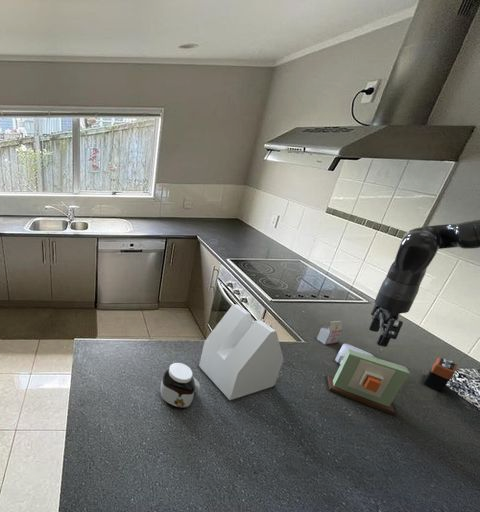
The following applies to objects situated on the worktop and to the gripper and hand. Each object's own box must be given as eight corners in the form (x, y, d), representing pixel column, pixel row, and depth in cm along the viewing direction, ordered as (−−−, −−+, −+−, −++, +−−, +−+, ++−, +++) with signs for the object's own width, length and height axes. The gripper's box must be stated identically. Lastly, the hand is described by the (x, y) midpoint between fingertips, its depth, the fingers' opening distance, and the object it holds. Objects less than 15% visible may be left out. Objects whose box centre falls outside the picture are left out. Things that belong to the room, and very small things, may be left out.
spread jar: (157, 402, 88) (162, 374, 83) (163, 377, 98) (167, 350, 93) (197, 416, 84) (204, 387, 80) (199, 388, 94) (205, 361, 89)
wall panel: (387, 399, 93) (408, 363, 87) (393, 416, 87) (416, 379, 81) (327, 377, 101) (343, 343, 95) (329, 391, 95) (346, 356, 89)
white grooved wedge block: (239, 355, 109) (255, 300, 100) (273, 386, 96) (296, 325, 86) (198, 366, 103) (212, 308, 94) (229, 400, 90) (248, 337, 80)
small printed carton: (316, 338, 121) (324, 319, 117) (328, 337, 122) (337, 318, 118) (324, 344, 117) (333, 324, 114) (337, 342, 119) (346, 323, 115)
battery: (443, 384, 100) (459, 362, 96) (440, 392, 96) (456, 370, 92) (426, 376, 103) (440, 354, 99) (422, 383, 99) (436, 362, 96)
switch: (374, 388, 87) (379, 380, 86) (376, 392, 86) (381, 383, 85) (363, 384, 89) (368, 376, 87) (365, 388, 87) (369, 379, 86)
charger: (330, 368, 105) (339, 351, 114) (362, 384, 98) (369, 364, 107) (334, 358, 103) (344, 342, 112) (367, 373, 96) (375, 355, 105)
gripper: (424, 308, 76) (401, 355, 82) (404, 286, 88) (385, 329, 94) (387, 301, 80) (367, 346, 86) (373, 281, 91) (356, 323, 97)
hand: (377, 337), depth 90 cm, fingers open, 8 cm apart
